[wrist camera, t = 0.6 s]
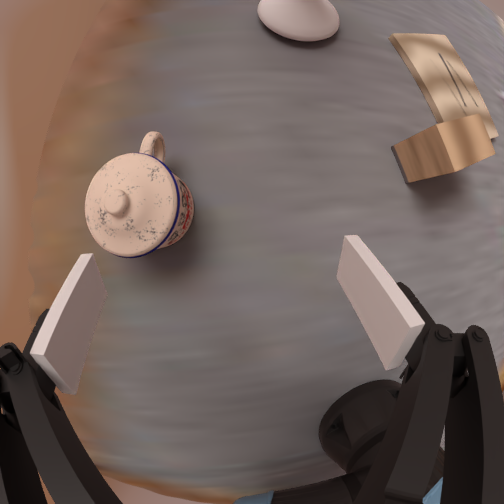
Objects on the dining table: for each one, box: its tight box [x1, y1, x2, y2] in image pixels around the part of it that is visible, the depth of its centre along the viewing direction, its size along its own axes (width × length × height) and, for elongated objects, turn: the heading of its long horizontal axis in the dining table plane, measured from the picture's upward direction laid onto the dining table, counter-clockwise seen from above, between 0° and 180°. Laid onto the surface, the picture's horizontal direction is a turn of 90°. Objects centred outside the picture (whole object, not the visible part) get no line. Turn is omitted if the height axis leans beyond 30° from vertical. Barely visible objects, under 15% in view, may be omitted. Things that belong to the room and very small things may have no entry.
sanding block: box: [391, 113, 495, 183], centre depth 26 cm, size 9×5×10 cm, turn 113°
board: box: [388, 34, 498, 139], centre depth 29 cm, size 20×14×2 cm
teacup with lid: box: [85, 132, 194, 258], centre depth 24 cm, size 12×9×12 cm
